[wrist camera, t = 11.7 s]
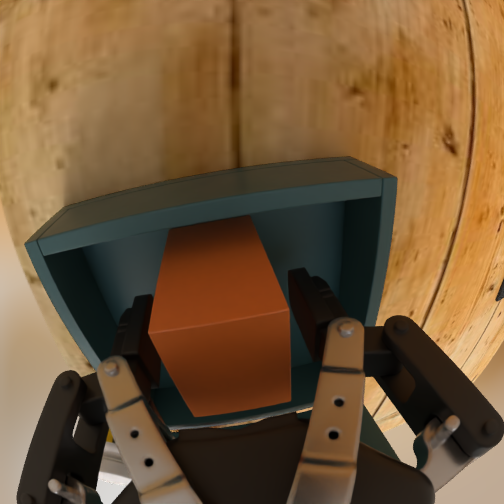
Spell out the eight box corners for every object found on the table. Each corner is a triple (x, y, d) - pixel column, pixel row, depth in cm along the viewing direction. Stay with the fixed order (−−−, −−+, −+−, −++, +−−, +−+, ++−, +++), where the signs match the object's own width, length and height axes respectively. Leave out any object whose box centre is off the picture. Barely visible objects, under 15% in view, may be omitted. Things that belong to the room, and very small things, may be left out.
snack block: (168, 229, 13) (147, 332, 7) (249, 214, 14) (290, 308, 8) (191, 310, 16) (194, 417, 10) (259, 298, 16) (291, 401, 10)
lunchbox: (63, 207, 12) (23, 243, 9) (350, 156, 14) (398, 177, 10) (149, 386, 20) (146, 431, 16) (335, 353, 21) (355, 393, 18)
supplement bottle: (149, 387, 20) (146, 479, 13) (147, 412, 22) (145, 490, 15) (95, 375, 19) (78, 464, 11) (99, 401, 21) (88, 479, 13)
